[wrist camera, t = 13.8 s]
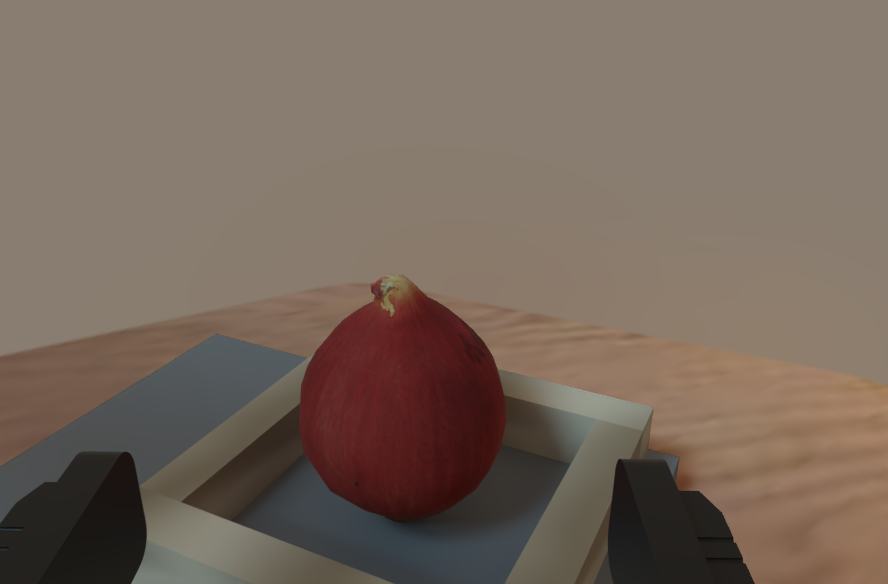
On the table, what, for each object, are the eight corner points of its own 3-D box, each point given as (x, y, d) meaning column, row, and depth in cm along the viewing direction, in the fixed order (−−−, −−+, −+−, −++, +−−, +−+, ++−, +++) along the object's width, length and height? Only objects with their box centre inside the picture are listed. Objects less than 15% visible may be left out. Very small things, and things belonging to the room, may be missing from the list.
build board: (-126, 593, 23) (-142, 553, 22) (219, 363, 35) (215, 333, 35) (517, 948, 15) (521, 901, 14) (673, 492, 27) (679, 457, 27)
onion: (397, 434, 28) (392, 219, 24) (536, 502, 25) (553, 266, 21) (268, 523, 24) (242, 279, 20) (416, 619, 20) (413, 348, 17)
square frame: (109, 576, 22) (96, 518, 21) (345, 376, 31) (343, 331, 31) (519, 761, 17) (524, 697, 16) (646, 457, 27) (653, 407, 26)
